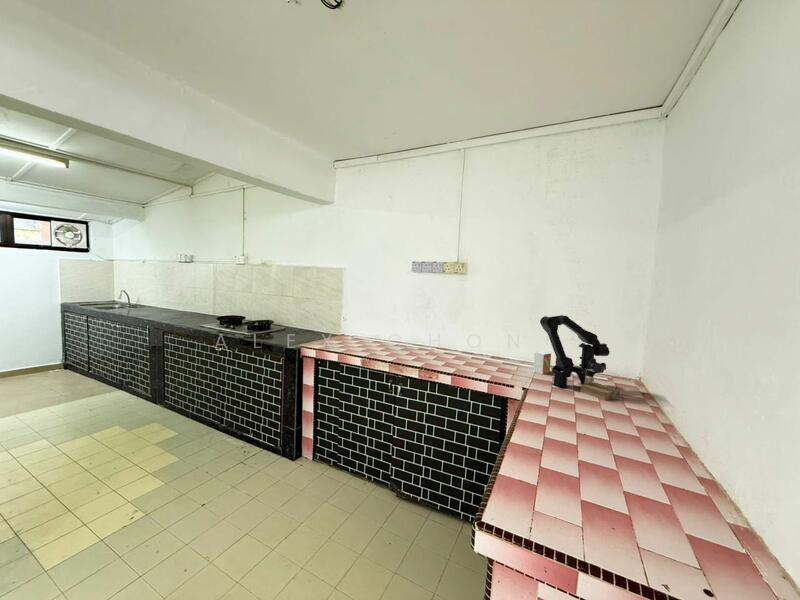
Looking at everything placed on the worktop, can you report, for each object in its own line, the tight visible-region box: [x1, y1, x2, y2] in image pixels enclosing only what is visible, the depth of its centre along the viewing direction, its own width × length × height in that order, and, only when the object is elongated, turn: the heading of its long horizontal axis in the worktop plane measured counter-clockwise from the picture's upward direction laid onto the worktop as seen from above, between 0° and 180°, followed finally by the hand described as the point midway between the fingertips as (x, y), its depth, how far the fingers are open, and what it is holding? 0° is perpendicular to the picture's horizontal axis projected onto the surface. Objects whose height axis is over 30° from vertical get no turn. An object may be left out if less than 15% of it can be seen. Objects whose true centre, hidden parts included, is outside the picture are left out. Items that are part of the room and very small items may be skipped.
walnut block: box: [580, 381, 621, 401], centre depth 153 cm, size 12×12×4 cm
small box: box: [532, 350, 552, 375], centre depth 186 cm, size 8×6×13 cm
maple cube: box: [578, 376, 595, 387], centre depth 165 cm, size 5×5×5 cm
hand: (585, 384), depth 166 cm, fingers closed on maple cube, 5 cm apart
